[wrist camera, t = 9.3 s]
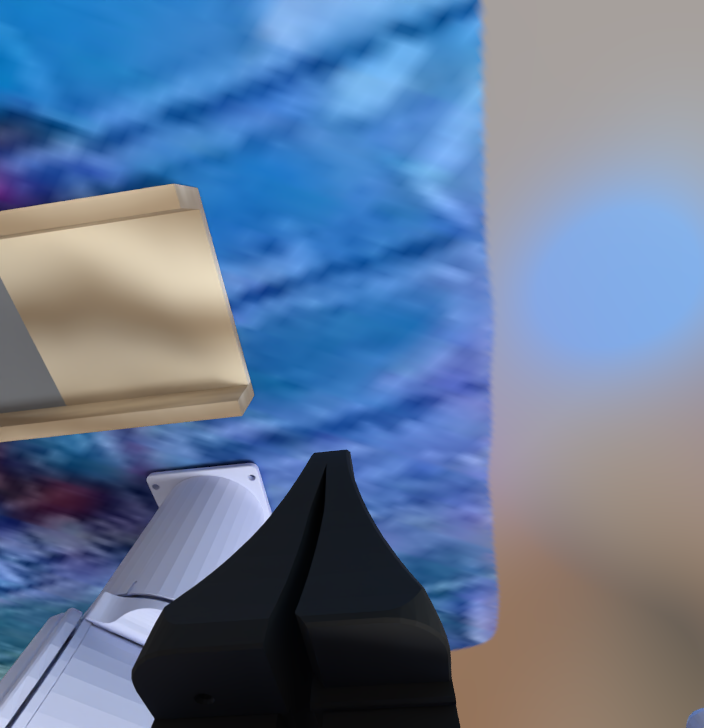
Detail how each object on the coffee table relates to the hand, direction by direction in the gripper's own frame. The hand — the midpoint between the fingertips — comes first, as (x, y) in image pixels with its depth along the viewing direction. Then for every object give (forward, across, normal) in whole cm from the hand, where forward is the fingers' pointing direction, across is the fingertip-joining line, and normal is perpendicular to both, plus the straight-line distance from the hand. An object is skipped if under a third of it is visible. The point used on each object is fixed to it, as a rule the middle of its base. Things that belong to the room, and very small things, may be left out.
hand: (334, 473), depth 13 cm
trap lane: (+9, +22, -5) cm, 24 cm away
